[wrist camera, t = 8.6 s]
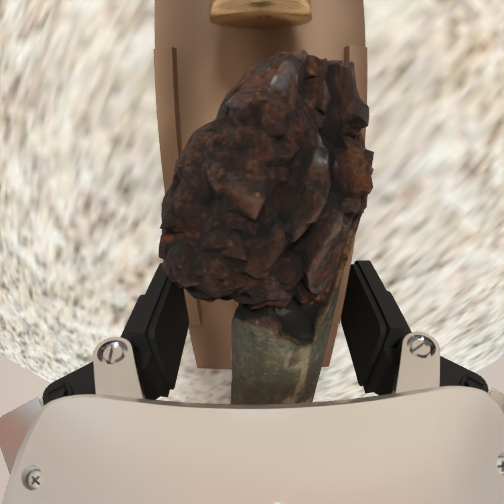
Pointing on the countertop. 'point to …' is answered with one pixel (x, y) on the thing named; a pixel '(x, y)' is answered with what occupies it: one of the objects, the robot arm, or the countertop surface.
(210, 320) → the cradle
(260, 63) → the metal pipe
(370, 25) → the countertop surface
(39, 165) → the countertop surface
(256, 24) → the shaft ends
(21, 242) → the countertop surface
